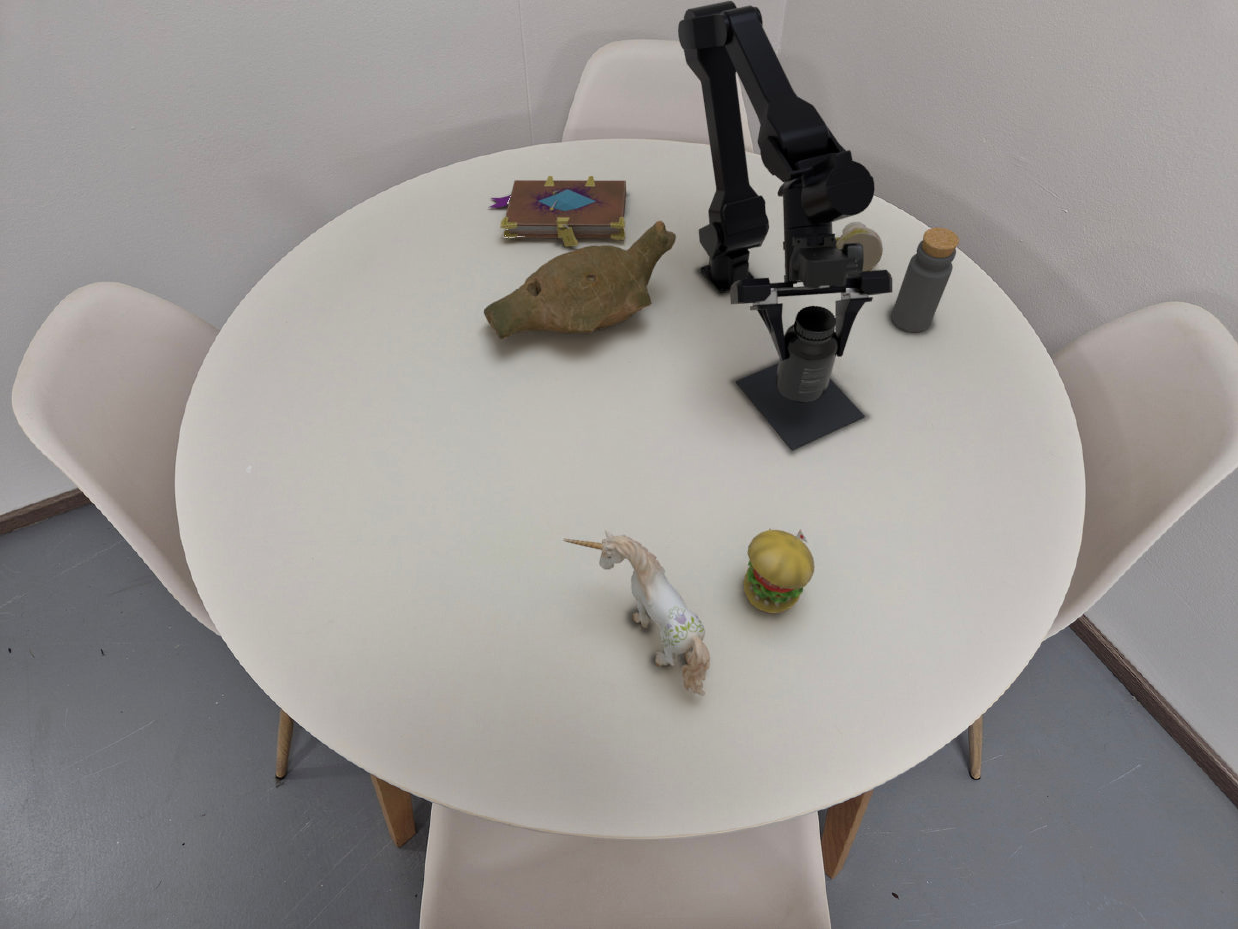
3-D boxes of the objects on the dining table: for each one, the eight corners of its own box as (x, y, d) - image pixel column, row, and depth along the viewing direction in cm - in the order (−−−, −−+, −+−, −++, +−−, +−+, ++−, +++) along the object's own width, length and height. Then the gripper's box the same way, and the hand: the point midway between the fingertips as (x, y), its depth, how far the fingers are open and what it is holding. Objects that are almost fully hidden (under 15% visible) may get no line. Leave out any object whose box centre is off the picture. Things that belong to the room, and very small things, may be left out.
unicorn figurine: (614, 556, 94) (610, 497, 83) (739, 661, 86) (752, 610, 75) (572, 595, 91) (562, 539, 80) (697, 707, 83) (704, 661, 72)
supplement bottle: (833, 375, 102) (852, 308, 93) (817, 411, 99) (836, 346, 89) (783, 360, 104) (798, 293, 94) (767, 395, 101) (780, 329, 91)
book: (493, 195, 139) (488, 170, 135) (628, 196, 138) (628, 170, 134) (478, 249, 129) (473, 223, 125) (624, 250, 127) (624, 224, 124)
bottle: (927, 306, 117) (960, 225, 105) (933, 333, 114) (967, 252, 102) (888, 305, 118) (916, 223, 106) (893, 332, 115) (922, 250, 102)
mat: (735, 382, 110) (735, 380, 110) (804, 352, 113) (805, 351, 112) (791, 450, 102) (792, 449, 102) (864, 417, 105) (864, 415, 105)
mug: (871, 236, 128) (898, 210, 118) (857, 290, 127) (883, 268, 117) (829, 222, 127) (853, 195, 118) (815, 276, 126) (838, 253, 116)
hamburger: (726, 585, 91) (736, 533, 81) (770, 552, 93) (785, 498, 84) (772, 633, 87) (788, 585, 78) (817, 597, 90) (837, 546, 80)
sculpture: (481, 313, 106) (653, 183, 106) (478, 311, 121) (629, 198, 122) (541, 392, 109) (706, 266, 110) (531, 380, 124) (677, 270, 125)
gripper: (743, 225, 85) (749, 366, 87) (910, 213, 85) (911, 355, 88) (727, 237, 96) (732, 362, 98) (875, 227, 96) (876, 352, 99)
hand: (811, 358), depth 95 cm, fingers closed on supplement bottle, 7 cm apart
